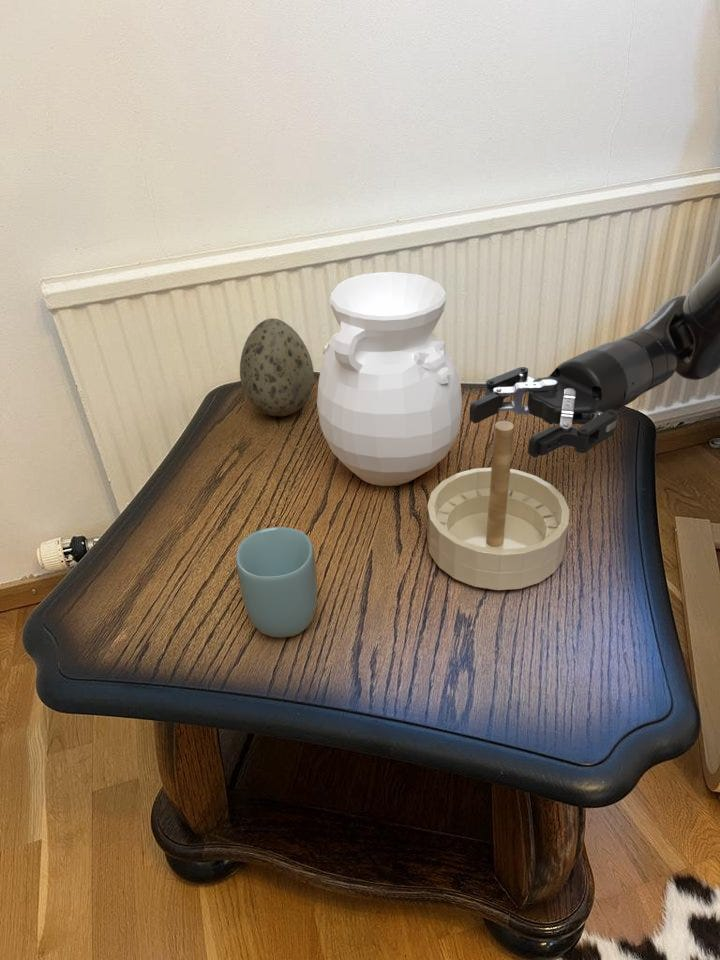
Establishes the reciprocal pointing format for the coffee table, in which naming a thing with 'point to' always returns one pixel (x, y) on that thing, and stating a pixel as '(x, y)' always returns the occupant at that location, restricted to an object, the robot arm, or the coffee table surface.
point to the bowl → (527, 537)
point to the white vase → (388, 379)
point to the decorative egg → (276, 369)
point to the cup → (278, 580)
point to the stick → (499, 482)
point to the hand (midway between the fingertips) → (500, 431)
